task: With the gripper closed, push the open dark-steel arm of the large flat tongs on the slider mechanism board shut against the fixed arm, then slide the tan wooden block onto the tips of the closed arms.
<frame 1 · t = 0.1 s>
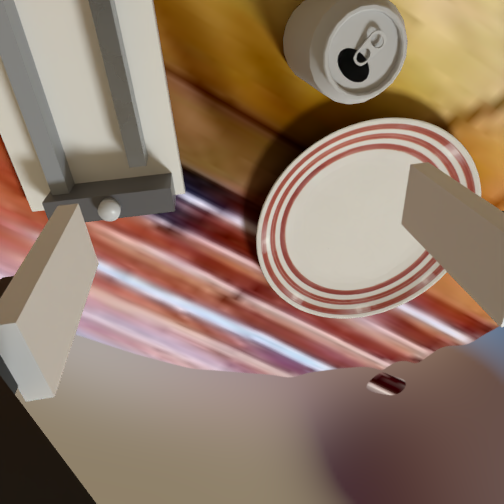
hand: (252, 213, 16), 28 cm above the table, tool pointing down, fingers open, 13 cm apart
slider mechanism board: (80, 85, 37), on the table
can: (318, 39, 38), on the table
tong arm: (117, 68, 34), point 3 cm above the table, slide at 6.0 cm
dinner plate: (359, 221, 51), on the table
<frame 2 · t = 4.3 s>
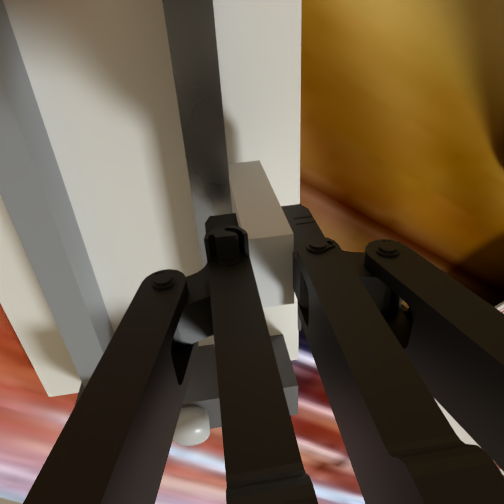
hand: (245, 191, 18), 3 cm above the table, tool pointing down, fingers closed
slider mechanism board: (142, 207, 21), on the table
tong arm: (211, 196, 18), point 3 cm above the table, slide at 5.4 cm, touching gripper
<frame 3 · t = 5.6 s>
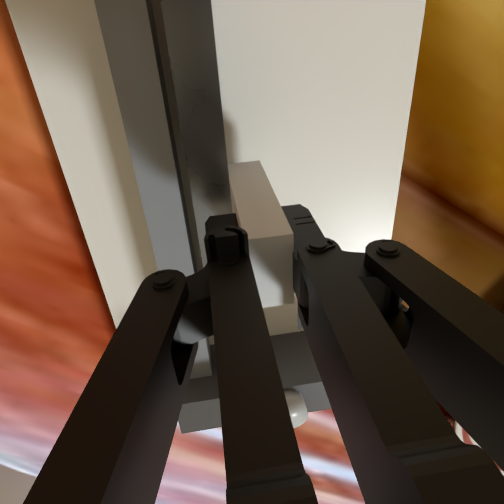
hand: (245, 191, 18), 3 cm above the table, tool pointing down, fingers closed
slider mechanism board: (242, 195, 21), on the table
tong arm: (211, 197, 18), point 3 cm above the table, slide at 0.2 cm, touching gripper
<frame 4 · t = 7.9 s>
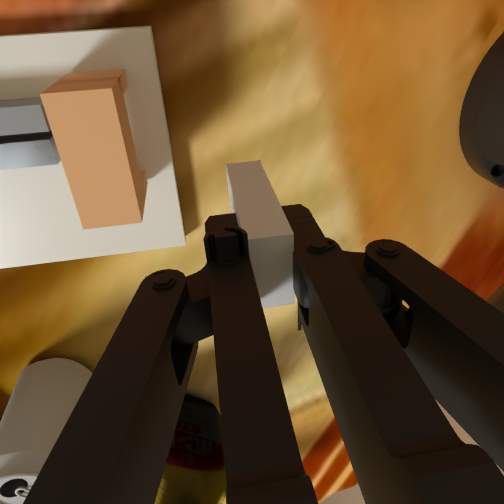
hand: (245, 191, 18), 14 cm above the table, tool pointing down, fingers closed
bottle: (177, 400, 46), on the table
can: (60, 376, 41), on the table
tan wooden block: (104, 147, 25), point 5 cm above the table, slide at 7.0 cm
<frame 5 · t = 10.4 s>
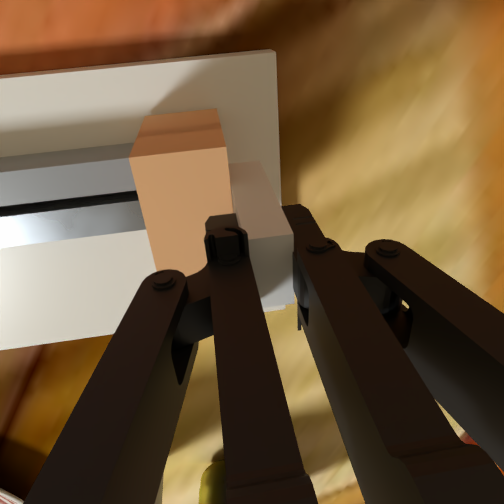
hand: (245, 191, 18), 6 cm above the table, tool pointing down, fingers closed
bottle: (249, 468, 41), on the table
tan wooden block: (193, 211, 19), point 5 cm above the table, slide at 5.9 cm, touching gripper
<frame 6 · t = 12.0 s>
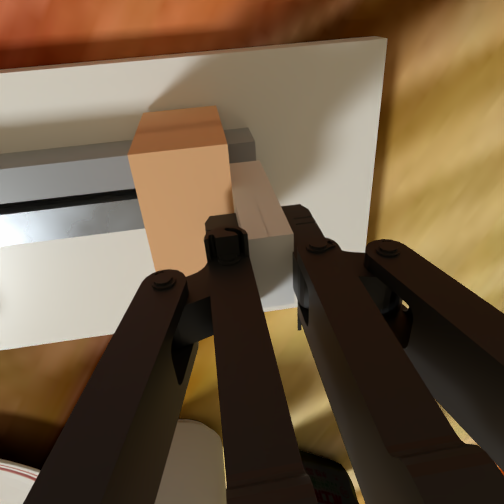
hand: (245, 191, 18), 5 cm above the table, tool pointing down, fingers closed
bottle: (298, 459, 41), on the table
slider mechanism board: (80, 216, 23), on the table
can: (179, 437, 36), on the table
tan wooden block: (192, 210, 19), point 5 cm above the table, slide at 0.5 cm, touching gripper
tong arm: (88, 209, 20), point 3 cm above the table, slide at 0.1 cm
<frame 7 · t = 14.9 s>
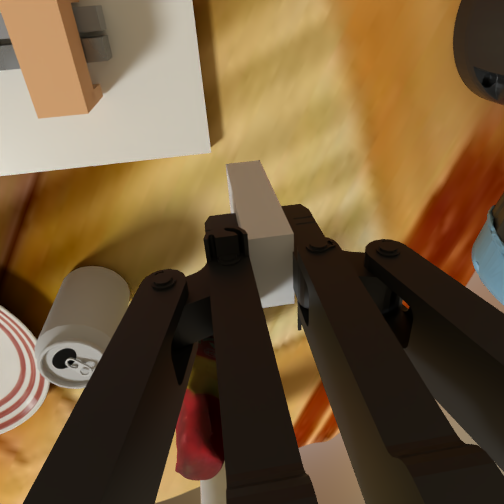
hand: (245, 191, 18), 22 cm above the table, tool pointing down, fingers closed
bottle: (200, 318, 51), on the table
can: (97, 287, 46), on the table
tan wooden block: (57, 51, 29), point 5 cm above the table, slide at 0.5 cm
travel mug: (217, 414, 62), on the table
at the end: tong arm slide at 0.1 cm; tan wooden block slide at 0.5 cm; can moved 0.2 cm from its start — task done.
